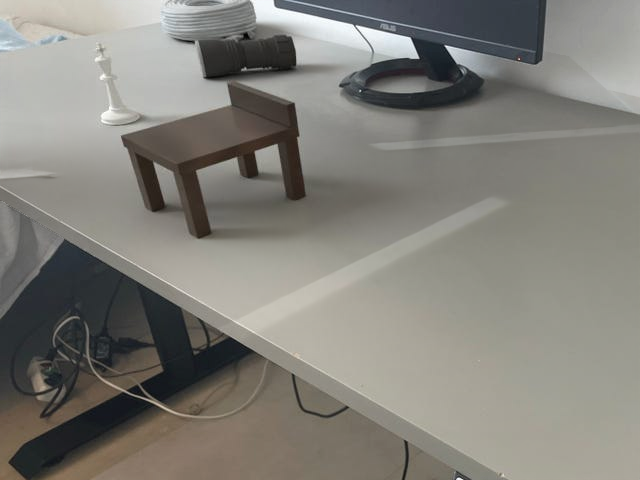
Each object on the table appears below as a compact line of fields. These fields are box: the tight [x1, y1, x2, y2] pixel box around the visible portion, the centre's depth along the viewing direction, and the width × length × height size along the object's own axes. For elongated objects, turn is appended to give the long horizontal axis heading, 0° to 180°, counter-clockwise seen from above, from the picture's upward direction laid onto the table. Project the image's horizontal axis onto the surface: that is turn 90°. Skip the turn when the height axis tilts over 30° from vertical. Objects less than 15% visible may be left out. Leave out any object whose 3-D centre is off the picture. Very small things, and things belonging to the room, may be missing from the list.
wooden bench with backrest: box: [120, 80, 307, 239], centre depth 76 cm, size 14×11×10 cm
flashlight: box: [194, 34, 298, 78], centre depth 116 cm, size 15×5×5 cm, turn 113°
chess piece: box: [93, 42, 140, 126], centre depth 97 cm, size 5×5×10 cm
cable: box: [160, 0, 257, 43], centre depth 136 cm, size 18×18×6 cm
